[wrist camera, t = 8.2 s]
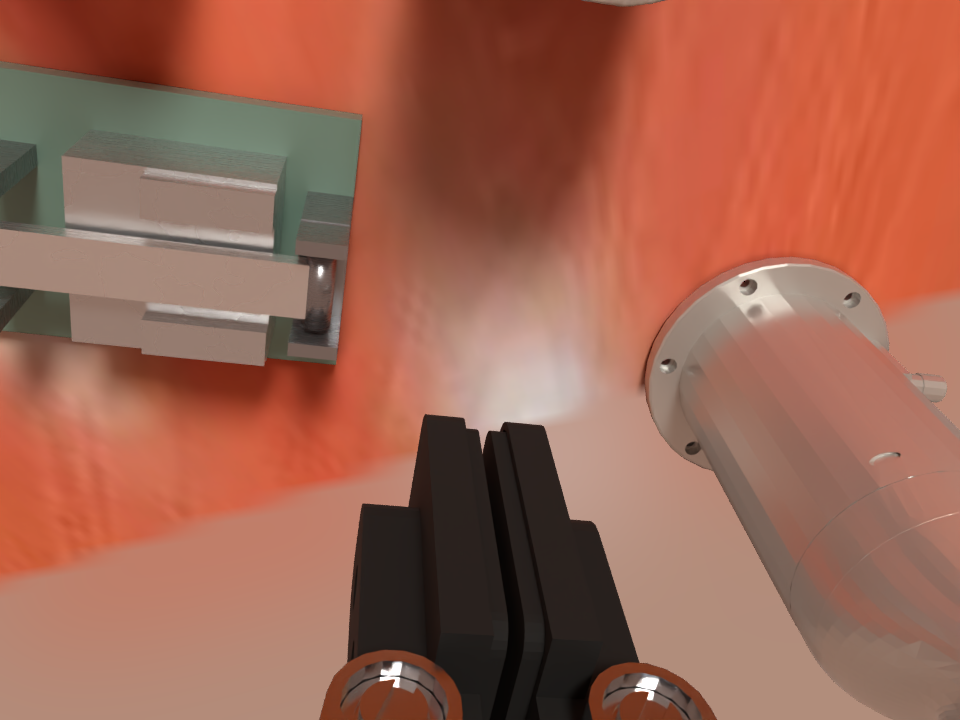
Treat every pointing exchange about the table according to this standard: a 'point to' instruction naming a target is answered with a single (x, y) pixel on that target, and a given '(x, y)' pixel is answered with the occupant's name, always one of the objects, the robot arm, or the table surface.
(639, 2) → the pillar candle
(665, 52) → the table surface
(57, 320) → the board
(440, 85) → the table surface
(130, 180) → the grey block frame
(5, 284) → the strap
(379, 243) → the table surface
